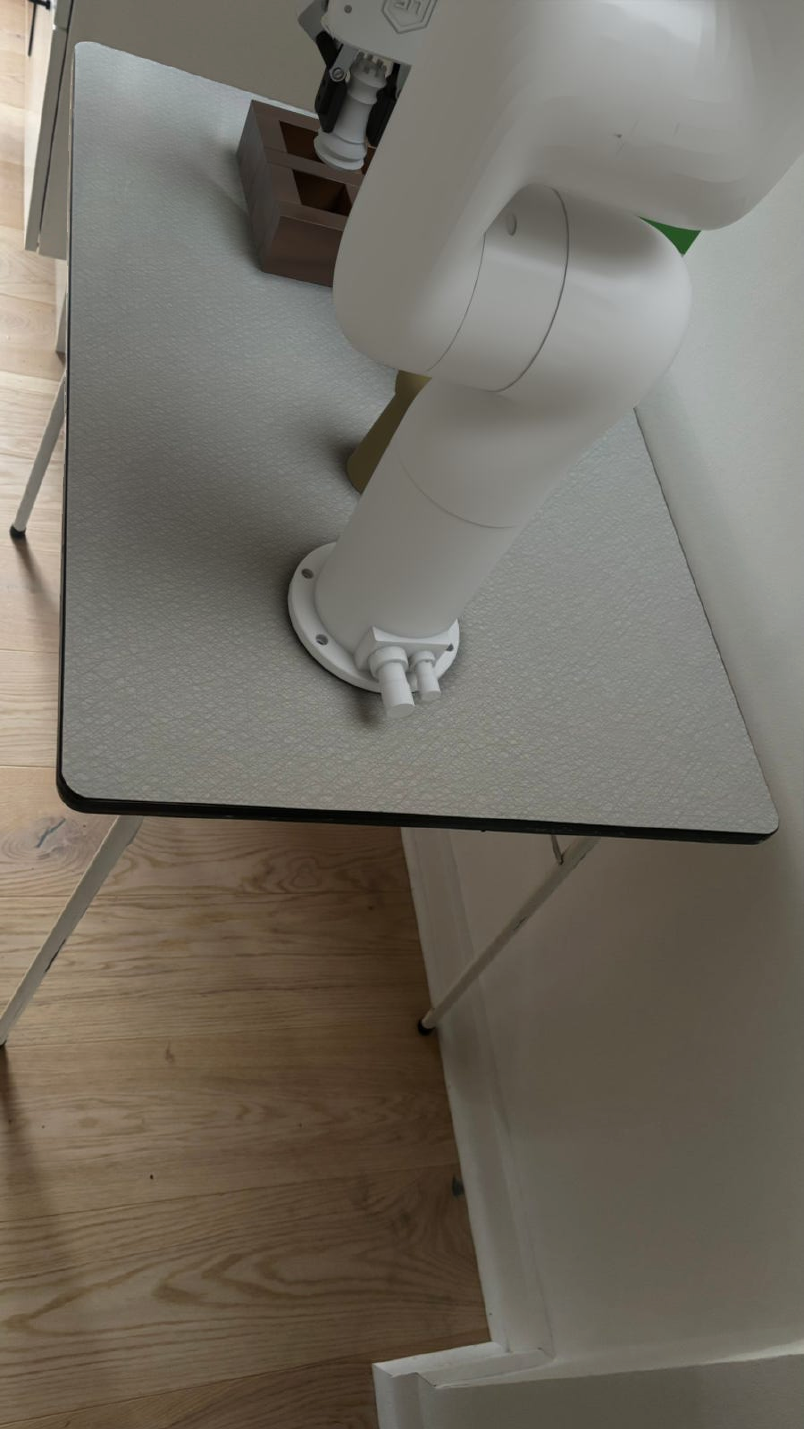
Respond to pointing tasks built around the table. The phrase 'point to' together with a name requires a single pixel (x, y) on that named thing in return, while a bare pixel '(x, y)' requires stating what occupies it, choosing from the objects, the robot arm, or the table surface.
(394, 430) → the olive flared vase
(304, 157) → the divided compartment box
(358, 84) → the rook chess piece
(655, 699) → the table surface
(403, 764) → the table surface
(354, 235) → the robot arm
